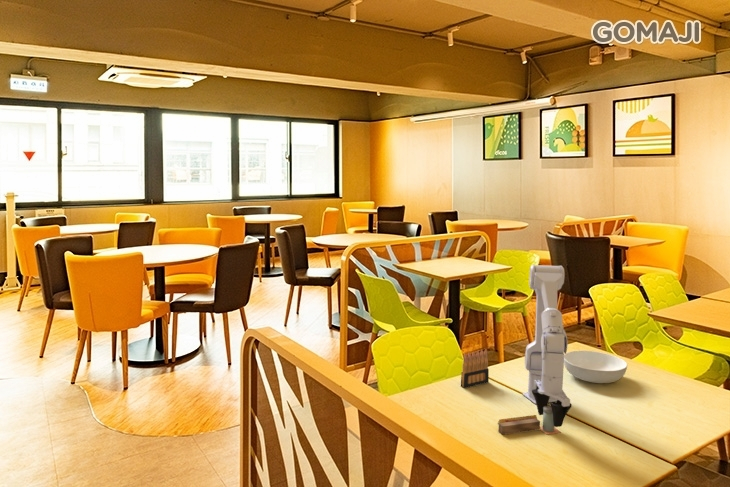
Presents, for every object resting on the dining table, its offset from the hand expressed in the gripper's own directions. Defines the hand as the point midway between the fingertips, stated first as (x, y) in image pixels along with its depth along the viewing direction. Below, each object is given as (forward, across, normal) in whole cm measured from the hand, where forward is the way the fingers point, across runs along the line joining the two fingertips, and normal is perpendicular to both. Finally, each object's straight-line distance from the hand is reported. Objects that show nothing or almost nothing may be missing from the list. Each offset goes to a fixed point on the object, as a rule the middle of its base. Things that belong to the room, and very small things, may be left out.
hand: (549, 420), depth 161 cm
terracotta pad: (+3, 0, 0) cm, 3 cm away
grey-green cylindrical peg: (+3, 0, 0) cm, 3 cm away
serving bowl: (+3, -30, +38) cm, 48 cm away
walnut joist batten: (+3, -2, -8) cm, 9 cm away
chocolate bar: (+4, -6, -6) cm, 10 cm away
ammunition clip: (+3, -36, -6) cm, 37 cm away
